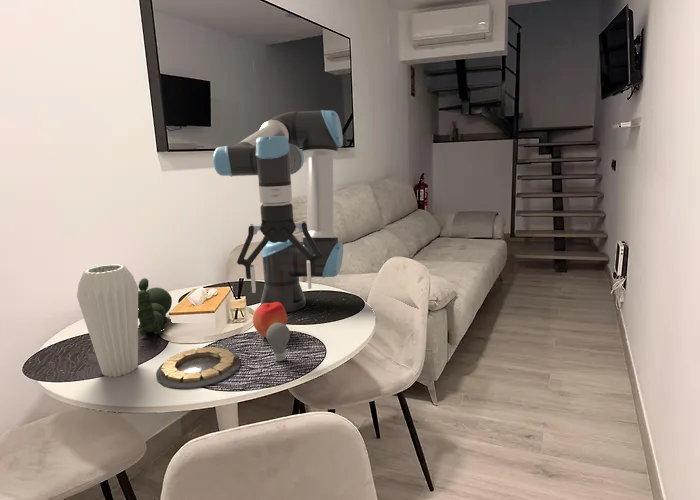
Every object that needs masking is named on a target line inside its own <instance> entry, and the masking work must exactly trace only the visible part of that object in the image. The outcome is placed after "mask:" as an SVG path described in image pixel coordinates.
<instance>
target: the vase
mask: <svg viewBox="0 0 700 500" xmlns="http://www.w3.org/2000/svg"><path fill="white" fill-rule="evenodd" d="M138 292H139V285H138V284H137V281H136V280H135V277H134V275H133V274H132V272H131V271H130V270H129V269H128V268H127V267H126V266H125V265H124V264H117V263H115V264H104V265H98V266H93V267H89V268H88V269H87V268H86V269H85V270H84V271H83V273H82V275H81V277H80V279H79V282H78V286H77V294H76V298H77V300H78V304H79V307H80V310H81V314H82V317H83V319H84V323H85V325H86V329H87V332H88V334H89V338H90V340H91V343H92V346H93V349H94V352H95V355H96V356H95V357H96V358H97V362H98V365H99V367H100V371H101V373H102V376H104V377H108V378H111V377H113V378H116V377H121V376H122V375H124V376H125V375H127V374H131V372H133V371H135V370H136V369H137V368H138V363H139V362H138V361H139V360H138V359H139V357H138V356H139V355H138V353H139V327H138V326H139V318H138V310H139V309H138Z"/></svg>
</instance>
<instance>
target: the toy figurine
mask: <svg viewBox="0 0 700 500" xmlns="http://www.w3.org/2000/svg"><path fill="white" fill-rule="evenodd" d="M172 305H173V299H172V295H171V294H170V293H169V291H167V290H165V289H164V288H161V287H151V288H149V280H148V278H144V277H143V278H142V279H141V280H140V281H139V282H138V330H139V329H140V330H139V331H138V334H140V336H146V335H147V333H152V332H153V333H154V334H155V335H158V334H160V333H161V332H162V331H161V330H163V329H165V330H166V326H165V325H167V324H168V323H169V319H168V317H167V314H168V312H169V311H170V310H171V308H172Z"/></svg>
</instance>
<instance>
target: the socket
mask: <svg viewBox="0 0 700 500" xmlns="http://www.w3.org/2000/svg"><path fill="white" fill-rule="evenodd" d="M240 366H241V359H240V357H239V355H237V353H235V352H233V351H230V350H229V349H226V348H222V347H216V346H214V347H213V346H206V347H205V346H204V347H197V348H191V349H188V350H185V351H181V352H179V353H176V354H174V355H173V356H171V357H169V358H168V359H166V360H165V361H164V362H163V363H162V364H161V365H160V366H158V369H157V370H156V373H155V377H156V380H157V382H158V383H159V384H161V385H162V386H163V387H166V388H171V389H177V390H179V389H180V390H182V389H183V390H189V389H197V388H203V387H207V386H211V385H214V384H217V383H220V382H222V381H224V380H227V379H228V378H230V377H232V376H233V375H235V373H236V372H237V371H238V370H239V368H240Z"/></svg>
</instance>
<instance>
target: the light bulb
mask: <svg viewBox="0 0 700 500" xmlns="http://www.w3.org/2000/svg"><path fill="white" fill-rule="evenodd" d="M266 337H267V338H266ZM266 337H265V338H266V340H267V343H269V345H270V346H271V348H272V351H273V354H274V360H275V361H277V362H282V361H285V359H286V354H285V353H286V349H287V344H288V343H289V340H290V339H291V338H290V337H291V332H290V329H289V327H288V325H287V324H286V325H284V324H283V323H274V324H272V325H271V326H270V327H269V328H268V330H267V333H266Z"/></svg>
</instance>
